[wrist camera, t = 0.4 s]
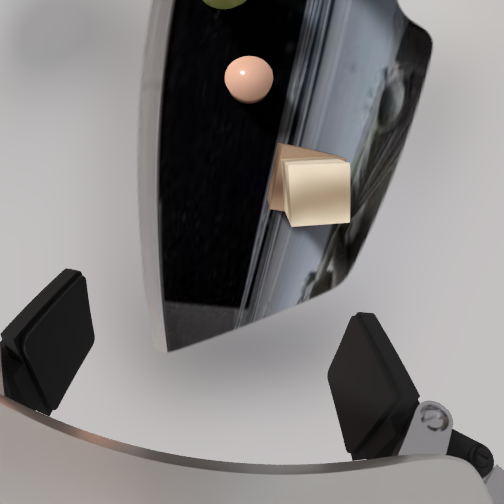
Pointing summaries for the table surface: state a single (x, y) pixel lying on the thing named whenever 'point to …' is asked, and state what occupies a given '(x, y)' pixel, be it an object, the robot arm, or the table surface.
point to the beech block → (316, 190)
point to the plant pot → (224, 3)
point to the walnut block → (276, 182)
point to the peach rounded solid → (249, 79)
